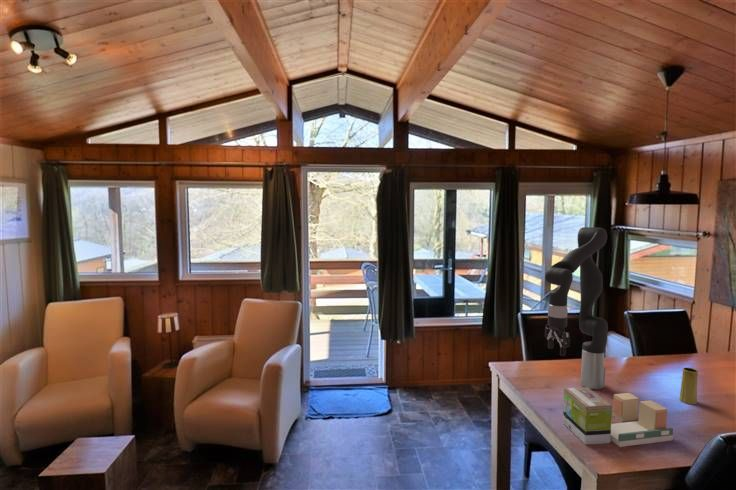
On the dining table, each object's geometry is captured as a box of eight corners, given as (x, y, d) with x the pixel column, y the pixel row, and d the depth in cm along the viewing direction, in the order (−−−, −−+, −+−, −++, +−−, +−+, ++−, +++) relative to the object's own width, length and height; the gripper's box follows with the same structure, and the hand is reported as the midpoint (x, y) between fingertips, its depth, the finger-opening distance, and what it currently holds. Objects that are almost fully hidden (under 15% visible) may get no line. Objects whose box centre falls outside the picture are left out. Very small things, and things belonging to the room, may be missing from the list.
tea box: (561, 423, 164) (563, 387, 162) (586, 422, 165) (587, 386, 163) (584, 445, 149) (586, 405, 147) (611, 444, 150) (613, 404, 148)
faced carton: (649, 422, 160) (650, 400, 159) (666, 432, 153) (667, 409, 152) (638, 424, 159) (639, 401, 158) (654, 434, 152) (656, 410, 151)
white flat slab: (647, 424, 162) (647, 414, 162) (672, 440, 152) (673, 429, 151) (597, 430, 158) (597, 419, 158) (620, 447, 147) (620, 435, 147)
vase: (693, 399, 184) (695, 368, 183) (699, 405, 178) (701, 373, 177) (677, 397, 186) (679, 366, 185) (682, 403, 180) (684, 371, 179)
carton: (637, 420, 166) (638, 398, 165) (621, 421, 165) (622, 399, 164) (627, 413, 171) (628, 392, 170) (612, 415, 170) (613, 394, 169)
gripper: (576, 318, 170) (575, 357, 172) (555, 310, 184) (554, 345, 186) (559, 319, 169) (558, 358, 171) (539, 311, 183) (539, 347, 185)
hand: (556, 351), depth 178 cm, fingers open, 8 cm apart
